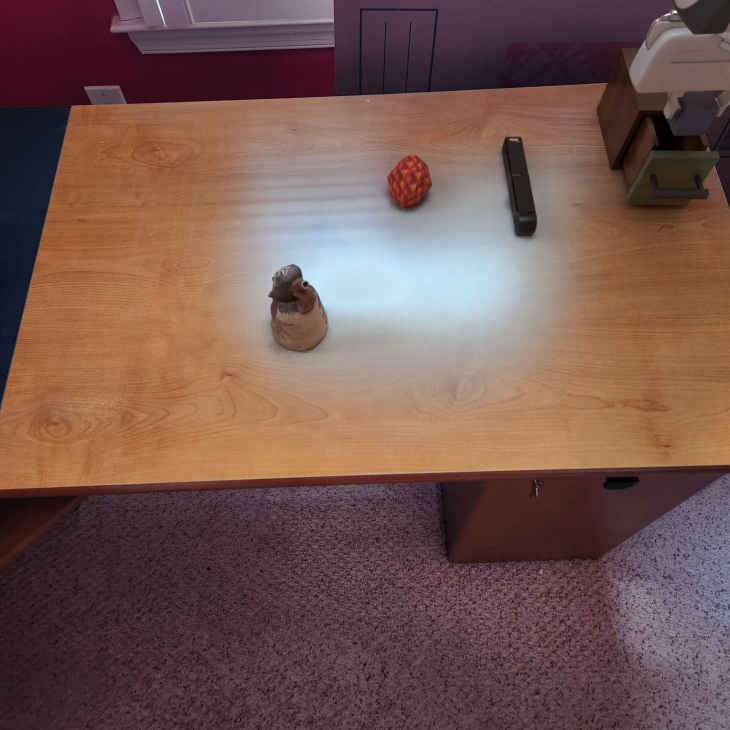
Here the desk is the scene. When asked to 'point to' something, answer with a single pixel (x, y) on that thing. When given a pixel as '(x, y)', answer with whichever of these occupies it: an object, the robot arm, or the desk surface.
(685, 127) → the block
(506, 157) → the black stapler
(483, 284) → the desk surface
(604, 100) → the cabinet
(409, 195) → the decorative stone
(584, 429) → the desk surface
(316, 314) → the figurine
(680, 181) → the drawer
